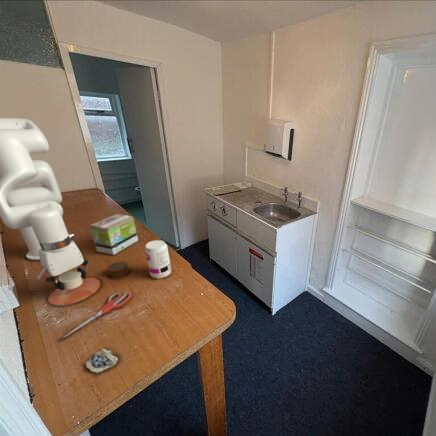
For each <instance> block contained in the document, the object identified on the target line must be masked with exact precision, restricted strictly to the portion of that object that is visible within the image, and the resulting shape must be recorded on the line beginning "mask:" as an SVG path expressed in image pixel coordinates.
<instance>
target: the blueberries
mask: <svg viewBox="0 0 436 436" xmlns="http://www.w3.org/2000/svg"><path fill="white" fill-rule="evenodd" d="M118 359H119V358H118V357H117V356H115V355H113V352H112V350H110V349H109V348H102V349H100V350H99V351H95V352H94V353H92V355H90V357H89V360H87V361H85V362H84V365H85V366H86V368H87V369H89V371H91V372H92V373H96V374H99V373H100V372H103V371H104V370H105V371H107V369H110V368H112V367H114V366H115V365H116V364H117V362H118Z"/></svg>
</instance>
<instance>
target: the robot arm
mask: <svg viewBox="0 0 436 436" xmlns="http://www.w3.org/2000/svg"><path fill="white" fill-rule="evenodd" d="M49 151H50V146H49V142H48V139H47V137H46V135H44V133H43V132H42V130H41V129H40V128H39V127H38V126H37V124H35V123H34V121H32V120H30V119H29V118H28V119H27V118H19V117H0V219H1V220H2V222H3V224H4V225H5V226H6V227H7V228H8V229H12V230H19V232H20V234H21V237H22V238H23V240H24V243H25V245H26V247H27V250H28V252H27V253H26V254H25V256H26V258H27V260H31V261H39V262H40V265H41V267H42V270H41V271H40V273H39V274H38V275H37V277H36V280H38V281H40V282H47V283H52V284H53V286H54V288H55V289H60V290H62V291H63V290H64V286H63V284H62V282H61V281H60V280H59V277H60V276H61V275H63V274H65V273H67V272H69V271H70V270H73V269H74V268H76V271H79V272H81V278H83V279H86V278H87V272H86V269H87V265H88V264H89V262H90V260H91V258H92V256H91V255H90V254H85V253H82V252H81V250H80V249H79V247H78V246H77V244H76V242H75V241H74V240H73V238H74V237H75V234H74V233H69V232H68V229H67V227H66V224H65V220H64V219H63V215H64V208H63V207H62V205H61V203H62V202H63V196H62V191H61V190H60V187H59V184H58V181H57V177H56V176H55V173H54V171H53V167H52V166H51V165H50V164H49V163H48V162H47V161H45V160H41V159H32V157H31V155H34V154H38V155H39V154H46V153H48V152H49ZM35 184H38V185H35ZM29 185H31V186H29ZM19 186H23V187H19ZM48 274H49V275H50V276H47V275H48Z"/></svg>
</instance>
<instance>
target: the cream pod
mask: <svg viewBox="0 0 436 436" xmlns="http://www.w3.org/2000/svg"><path fill="white" fill-rule="evenodd" d="M59 280H60V281H61V282H62V284H63V286H64V289H65V290H70V289H74V288H77V287H78V286H80V285H81V284H82V283H83V281H82V278H81V272H79V271H77V270H71V271H66V272H64V273H62V274H60V277H59Z"/></svg>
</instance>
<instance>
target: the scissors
mask: <svg viewBox="0 0 436 436" xmlns="http://www.w3.org/2000/svg"><path fill="white" fill-rule="evenodd" d="M116 296H117V297H116ZM132 296H133V295H132V293H131V292H125V293H124V294H122V292H115V293H112V294H111V295H110V296H109V297H108V298H107V301H106V304H104V305H103V306H102V307H101V308H100V309H99V310H98V311H97V312H96V313H95V314H93V315H91V317H89V318H88V319H87V320H85V321H84V322H82V323H81V324H79V325H78V326H76V327H75V328H73V329H72V330H70V331H69V332H68V333H66V335H64V336H63V338H65V337H67V336H69V335H70V334H72V333H74V332H76V331H78V330H79V329H80V328H82V327H83V326H85V325H87V324H88V323H90V322H92V321H94V320H96V319H97V318H99V317H100V316H102V315H105V314H107V313H109V312H110V311H112V310H117V309H119V308H121V307H122V306H124V305H125V304H127V303H128V302H129V301H130V300H131V299H132ZM114 297H116V298H114ZM113 298H114V299H113ZM112 299H113V300H112Z"/></svg>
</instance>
